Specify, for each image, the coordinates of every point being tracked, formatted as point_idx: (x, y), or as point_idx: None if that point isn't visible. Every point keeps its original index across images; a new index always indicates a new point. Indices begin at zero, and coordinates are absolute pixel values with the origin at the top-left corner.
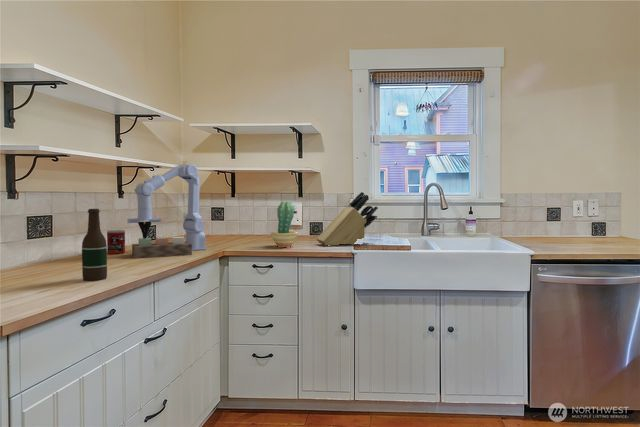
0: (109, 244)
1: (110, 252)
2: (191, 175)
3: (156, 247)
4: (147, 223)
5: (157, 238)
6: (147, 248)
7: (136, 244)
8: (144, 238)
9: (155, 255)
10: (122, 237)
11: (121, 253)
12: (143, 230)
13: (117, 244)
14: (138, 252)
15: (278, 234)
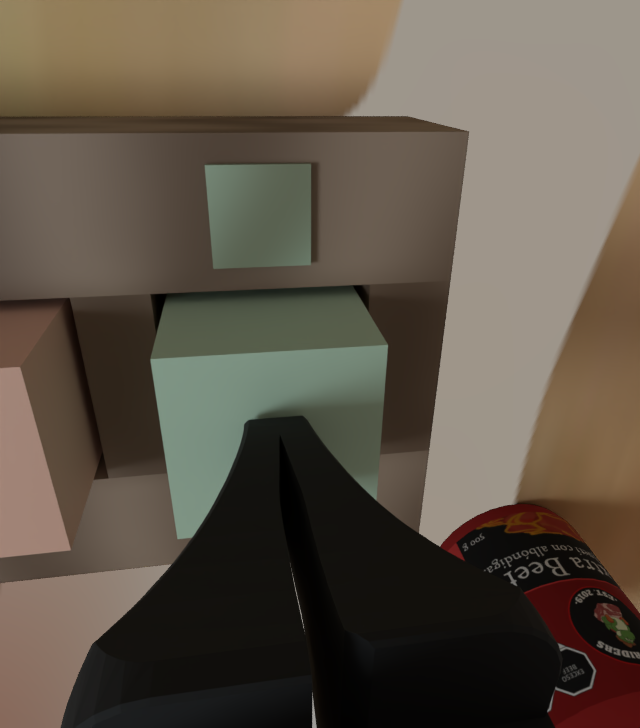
0: (624, 594)
1: (568, 524)
2: None
3: (64, 133)
4: (230, 684)
5: (13, 402)
6: (237, 127)
7: None
8: None
9: (114, 118)
10: None
11: (467, 523)
12: (339, 507)
13: (555, 581)
14: (376, 122)
15: None
